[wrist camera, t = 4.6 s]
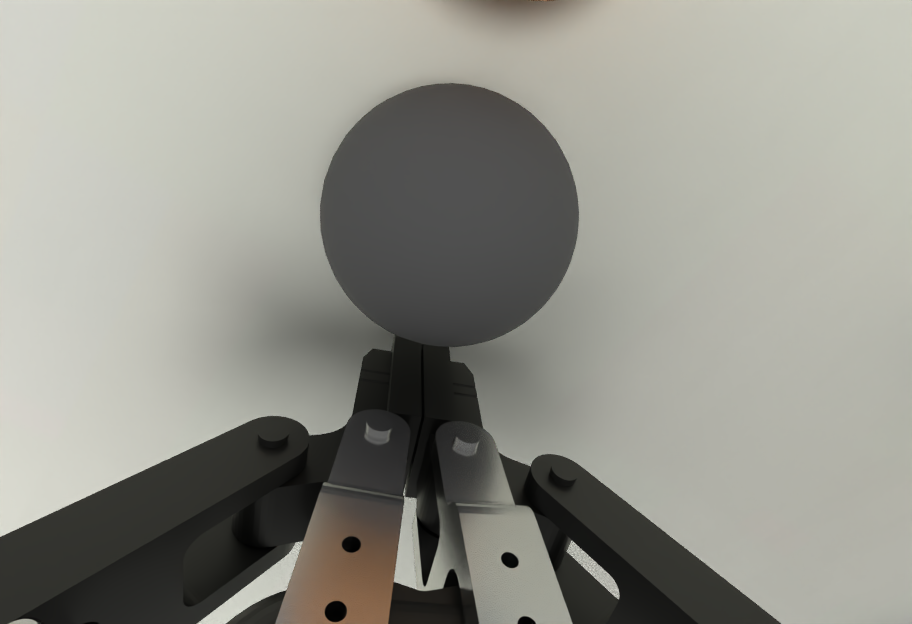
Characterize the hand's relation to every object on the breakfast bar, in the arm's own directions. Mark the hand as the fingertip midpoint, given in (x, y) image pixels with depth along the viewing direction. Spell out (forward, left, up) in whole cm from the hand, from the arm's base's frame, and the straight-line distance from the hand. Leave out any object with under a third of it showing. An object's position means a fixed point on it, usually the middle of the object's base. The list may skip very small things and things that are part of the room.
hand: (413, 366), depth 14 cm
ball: (+3, -3, +1) cm, 5 cm away
